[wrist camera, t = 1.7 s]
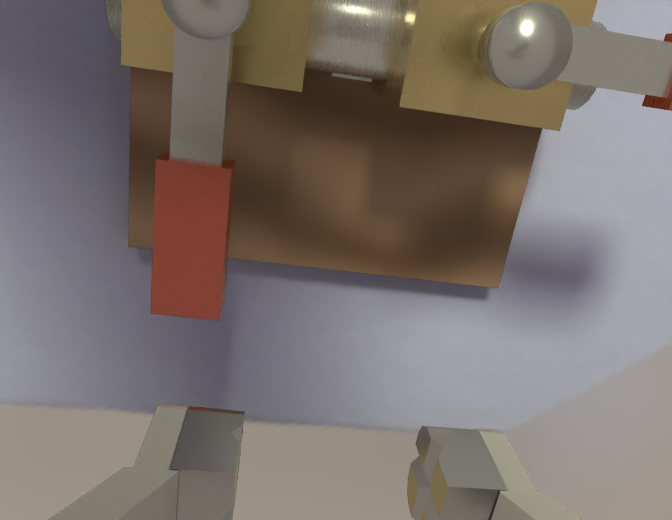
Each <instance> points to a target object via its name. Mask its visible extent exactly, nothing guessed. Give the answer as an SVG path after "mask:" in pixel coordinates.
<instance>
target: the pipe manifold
mask: <svg viewBox="0 0 672 520" xmlns="http://www.w3.org/2000/svg"><path fill="white" fill-rule="evenodd" d="M596 3H597V0H252V7H251V11H250V15H249V17H248V19H247V21H246V23H245V24H244V26H243V27H242V28H241V29H240V30H239V31H238V32H237V33H235V34H234V44H233V56H232V69H231V82H238V83H245V84H251V85H258V86H265V87H271V88H278V89H285V90H291V91H298V92H302V87H303V79H304V71H305V68H306V69H313V70H319V71H326V72H331V73H330V75H332V76H336V77H342V78H349V79H355V80H361V81H368V82H372V79H377V80H378V81H377V87H376V93H375V94H377V95H379V96H380V97H382V98H384V99H386V100H388V101H390V102H391V103H393V104H395V105H397V106H399V107H404V108H411V109H418V110H424V111H431V112H438V113H444V114H451V115H457V116H464V117H471V118H477V119H484V120H491V121H497V122H504V123H511V124H517V125H524V126H531V127H537V128H544V129H551V130H557V131H560V128H561V125H562V121H563V118H564V114H565V111H566V109H570V110H575V109H578V108H580V107H581V106H583V105H584V104H585V103H586V102H587V101H588V100H589V99H590V97H591V96H592V95H593V93H594V92H595V90H596V88H597V87H599V88H605V89H611V90H618V91H624V92H630V93H636V94H642V95H645V98H644V101H643V104H642V106H646V107H652V108H658V109H664V110H671V111H672V34H666V36H665V39H664V41H660V40H654V39H648V38H643V37H637V36H631V35H626V34H620V33H614V32H609V31H607V30H606V27H605V26H604V25H603V24H602V23H600V22H595V21H592V17H593V14H594V10H595V7H596ZM105 7H106V14H107V19H108V23H109V26H110V29H111V32H112V33H113V35H114V37H115V38H117V39H120V40H121V65H125V66H132V67H138V68H145V69H152V70H158V71H165V72H172V73H173V62H174V38H175V24H174V23H173V22H172V21H171V20H170V18H169V17H168V15H167V14H166V12H165V10H164V7H163V5H162V2H161V0H105Z"/></svg>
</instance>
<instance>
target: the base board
mask: <svg viewBox="0 0 672 520" xmlns="http://www.w3.org/2000/svg"><path fill="white" fill-rule="evenodd" d="M330 73H331V72H326V71H319V70H313V69H306V68H305V71H304V79H303V87H302V92H298V91H291V90H285V89H278V88H271V87H265V86H258V85H251V84H245V83H238V82H230V95H229V108H228V121H227V134H226V147H225V159H228V160H236V167H235V179H234V191H233V202H232V214H231V226H230V238H229V250H228V258H233V259H242V260H250V261H259V262H268V263H277V264H286V265H295V266H304V267H313V268H322V269H331V270H340V271H349V272H358V273H367V274H376V275H385V276H393V277H402V278H411V279H420V280H429V281H438V282H447V283H456V284H465V285H474V286H483V287H492V288H498V286H499V282H500V279H501V275H502V271H503V268H504V264H505V261H506V257H507V253H508V250H509V246H510V243H511V239H512V235H513V232H514V228H515V224H516V221H517V217H518V214H519V210H520V206H521V203H522V199H523V196H524V192H525V188H526V185H527V181H528V177H529V174H530V170H531V167H532V163H533V159H534V156H535V152H536V149H537V145H538V141H539V138H540V134H541V130H542V128H537V127H531V126H524V125H517V124H511V123H504V122H497V121H491V120H484V119H477V118H471V117H464V116H457V115H451V114H444V113H438V112H431V111H424V110H418V109H411V108H404V107H399V106H397V105H395V104H393V103H391V102H390V101H388V100H386V99H384V98H382V97H380V96H379V95H377V94H375V93H376V87H377V81H378V80H377V79H372V82H368V81H361V80H355V79H349V78H342V77H336V76H332V75H330ZM172 86H173V73H172V72H165V71H158V70H152V69H145V68H138V67H132V66H131V114H130V176H129V238H128V247H134V248H143V249H152V250H153V229H154V199H155V169H156V159H157V158H158V157H159V156H161V155H162V154H163V153H164V152H166V151H168V152H170V134H171V110H172Z"/></svg>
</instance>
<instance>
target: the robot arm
mask: <svg viewBox="0 0 672 520" xmlns="http://www.w3.org/2000/svg"><path fill="white" fill-rule="evenodd" d="M244 413H245V412H242V411H232V410H222V409H212V408H201V407H191V406H189V407H187V406H179V405H166V404H160V405H159V406H158V407H157V408H156V410H155V413H154V415H153V418H152V421H151V423H150V426H149V428H148V431H147V434H146V436H145V439H144V441H143V444H142V447H141V449H140V452H139V455H138V457H137V460H136V462H135V465H134V467H133V468H127V467H124V468H123V469H121V470H120V471H118V472H117V473H115V474H114V475H113V476H111V477H110V478H108V479H107V480H105V481H104V482H102V483H101V484H99V485H98V486H96V487H95V488H94V489H92V490H91V491H89V492H88V493H86V494H85V495H83V496H82V497H80V498H79V499H78V500H76V501H75V502H73V503H72V504H70V505H69V506H67V507H66V508H64V509H63V510H62V511H60V512H59V513H57V514H56V515H54V516H53V517H51V518H50V519H48V520H232V517H233V508H234V503H235V494H236V487H237V478H238V469H239V460H240V452H241V451H240V450H241V441H242V433H243V423H244ZM416 446H417V450H418V453H419V456H418V457H417V458H416V459H415V460H414V461H413V462H412V463H411V465H410V470H409V476H408V488H407V495H408V504H409V509H410V513H411V517H412V518H414V519H415V520H581V519H580V518H578V517H577V516H575V515H574V514H573V513H571V512H570V511H569V510H567V509H566V508H564V507H563V506H562V505H560V504H559V503H558V502H556V501H555V500H554V499H552V498H551V497H549V496H548V495H547V494H541V493H537V491H536V489H535V488H534V486H533V484H532V482H531V480H530V479H529V477H528V475H527V473H526V471H525V469H524V468H523V466H522V464H521V462H520V461H519V459H518V457H517V455H516V453H515V452H514V450H513V448H512V446H511V445H510V443H509V441H508V439H507V437H506V436H505V434H504V433H503V432H502V431H500V430H493V429H459V428H445V427H431V426H422V427H421V429H420V431H419V433H418V437H417V441H416Z"/></svg>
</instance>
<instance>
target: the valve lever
mask: <svg viewBox="0 0 672 520" xmlns="http://www.w3.org/2000/svg"><path fill="white" fill-rule="evenodd" d="M161 2H162V5H163V7H164V10H165V12H166V14H167V15H168V17H169V18H170V20H171V21H172V22H173V23H174V24H175V38H174V62H173V86H172V110H171V134H170V152H168V151H166V152H164V153H163V154H162V155H161V156H159V157H158V158H157V159H156V169H155V199H154V229H153V260H152V290H151V314H160V315H170V316H180V317H190V318H200V319H211V320H219V319H220V315H221V312H222V308H223V304H224V297H225V285H226V273H227V261H228V250H229V238H230V226H231V214H232V202H233V191H234V179H235V167H236V160H228V159H225V147H226V134H227V121H228V108H229V95H230V82H231V69H232V56H233V44H234V34H235V33H237V32H238V31H239V30H240V29H241V28H242V27H243V26H244V24H245V23H246V21H247V19H248V17H249V15H250V11H251V7H252V0H161Z"/></svg>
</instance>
